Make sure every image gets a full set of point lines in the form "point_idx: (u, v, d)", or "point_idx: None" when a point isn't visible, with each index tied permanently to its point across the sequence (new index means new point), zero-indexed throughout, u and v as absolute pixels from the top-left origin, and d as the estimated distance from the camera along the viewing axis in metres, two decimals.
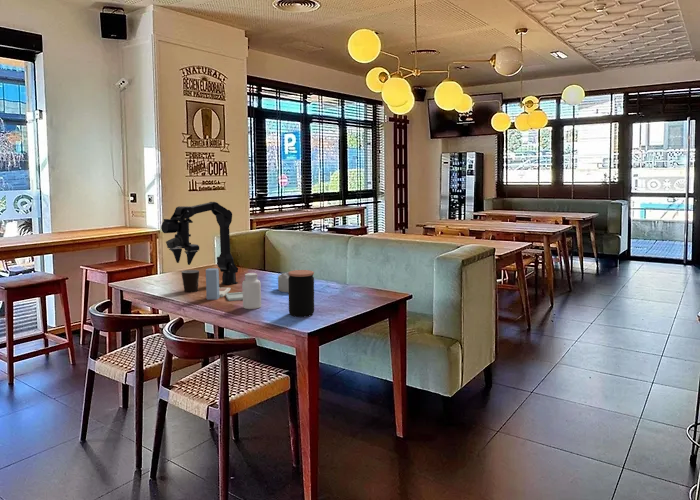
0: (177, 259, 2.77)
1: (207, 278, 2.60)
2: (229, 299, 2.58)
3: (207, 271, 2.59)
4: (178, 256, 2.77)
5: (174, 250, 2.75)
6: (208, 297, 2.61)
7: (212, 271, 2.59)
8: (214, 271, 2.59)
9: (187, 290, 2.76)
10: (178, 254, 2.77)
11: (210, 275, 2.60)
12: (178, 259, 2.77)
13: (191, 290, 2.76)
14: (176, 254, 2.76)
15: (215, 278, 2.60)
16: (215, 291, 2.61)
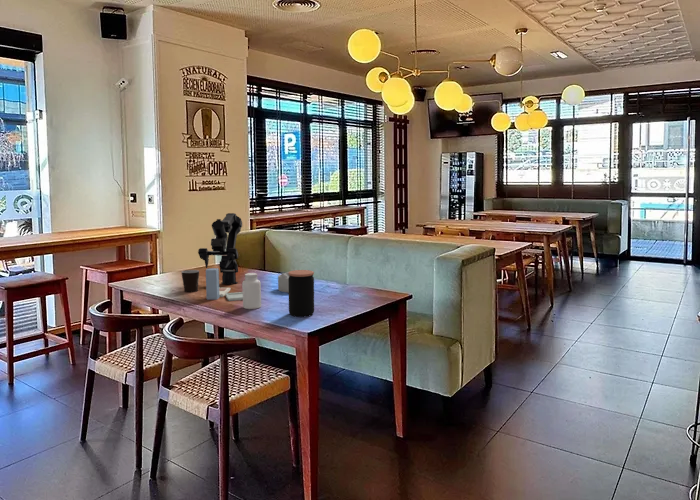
0: (207, 264, 2.70)
1: (207, 278, 2.60)
2: (229, 299, 2.58)
3: (207, 271, 2.59)
4: (207, 262, 2.71)
5: (206, 255, 2.72)
6: (208, 297, 2.61)
7: (212, 271, 2.59)
8: (214, 271, 2.59)
9: (187, 290, 2.76)
10: (207, 261, 2.72)
11: (210, 275, 2.60)
12: (207, 265, 2.70)
13: (191, 290, 2.76)
14: (207, 259, 2.71)
15: (215, 278, 2.60)
16: (215, 291, 2.61)
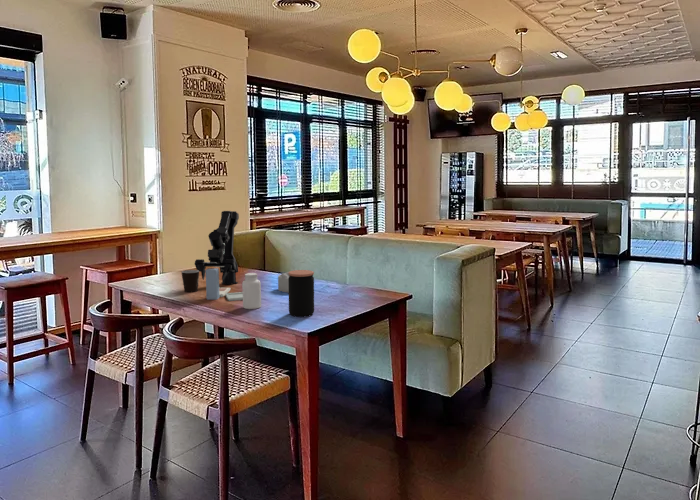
0: (203, 276, 2.63)
1: (207, 278, 2.60)
2: (229, 299, 2.58)
3: (207, 271, 2.59)
4: (204, 274, 2.65)
5: (203, 266, 2.65)
6: (208, 297, 2.61)
7: (212, 271, 2.59)
8: (214, 271, 2.59)
9: (187, 290, 2.76)
10: (203, 272, 2.65)
11: (210, 275, 2.60)
12: (204, 276, 2.64)
13: (191, 290, 2.76)
14: (203, 271, 2.65)
15: (215, 278, 2.60)
16: (215, 291, 2.61)
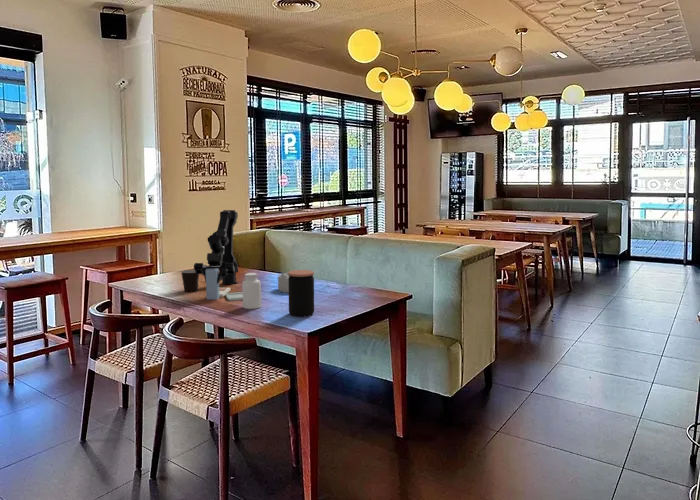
0: None
1: (207, 278, 2.60)
2: (229, 299, 2.58)
3: (207, 271, 2.59)
4: None
5: None
6: (208, 297, 2.61)
7: (212, 271, 2.59)
8: (214, 271, 2.59)
9: (187, 290, 2.76)
10: None
11: (210, 275, 2.60)
12: None
13: (191, 290, 2.76)
14: None
15: (215, 278, 2.60)
16: (215, 291, 2.61)
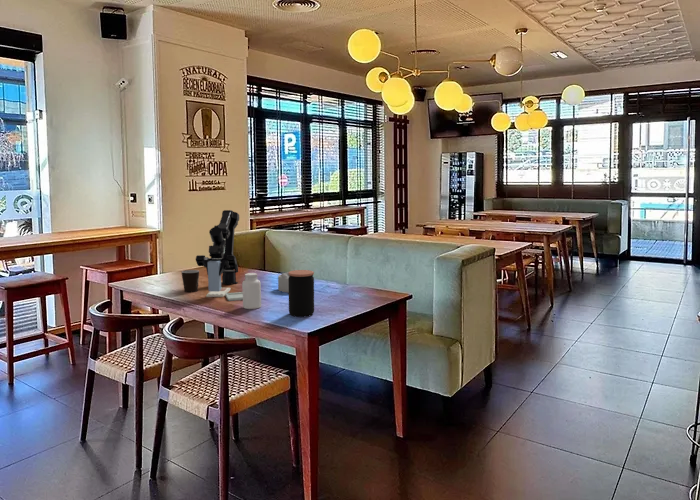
0: None
1: (209, 270, 2.62)
2: (229, 299, 2.58)
3: (209, 263, 2.62)
4: None
5: None
6: (210, 289, 2.64)
7: (214, 263, 2.62)
8: (216, 263, 2.62)
9: (187, 290, 2.76)
10: None
11: (212, 267, 2.62)
12: None
13: (191, 290, 2.76)
14: None
15: (217, 270, 2.62)
16: (217, 283, 2.63)
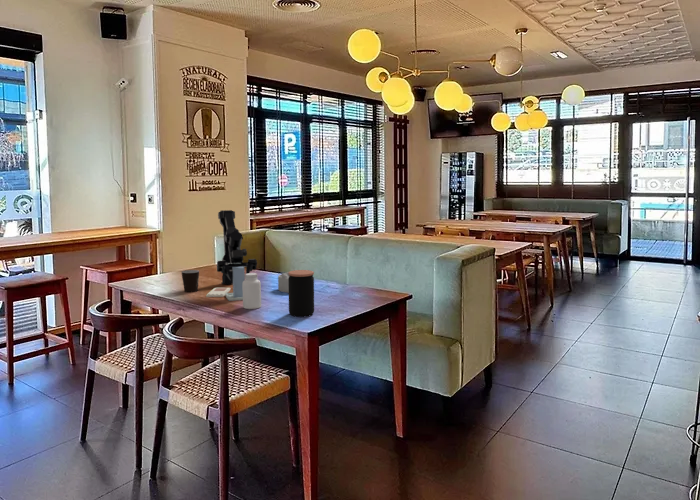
0: (230, 276, 2.62)
1: (235, 276, 2.61)
2: (229, 299, 2.58)
3: (235, 269, 2.61)
4: None
5: (228, 267, 2.64)
6: (236, 295, 2.63)
7: (240, 269, 2.62)
8: (242, 269, 2.62)
9: (187, 290, 2.76)
10: None
11: (238, 273, 2.62)
12: None
13: (191, 290, 2.76)
14: None
15: (243, 276, 2.63)
16: None
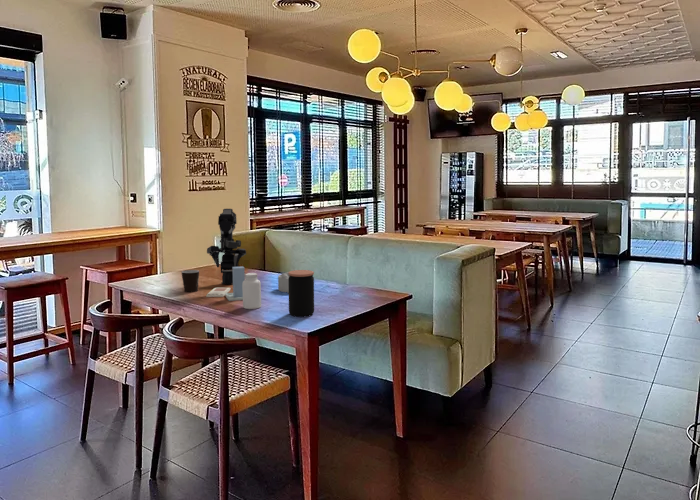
0: None
1: (235, 276, 2.61)
2: (229, 299, 2.58)
3: (235, 269, 2.61)
4: None
5: None
6: (236, 295, 2.63)
7: (240, 269, 2.62)
8: (242, 269, 2.62)
9: (187, 290, 2.76)
10: None
11: (238, 273, 2.62)
12: None
13: (191, 290, 2.76)
14: None
15: (243, 276, 2.63)
16: None
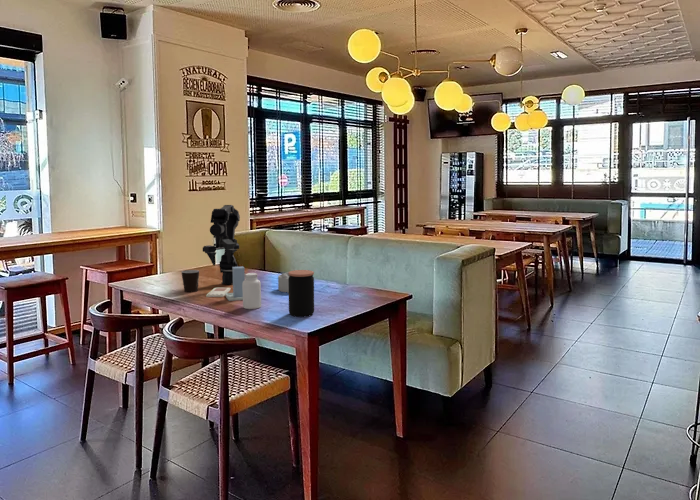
0: None
1: (235, 276, 2.61)
2: (229, 299, 2.58)
3: (235, 269, 2.61)
4: None
5: None
6: (236, 295, 2.63)
7: (240, 269, 2.62)
8: (242, 269, 2.62)
9: (187, 290, 2.76)
10: None
11: (238, 273, 2.62)
12: None
13: (191, 290, 2.76)
14: None
15: (243, 276, 2.63)
16: None
